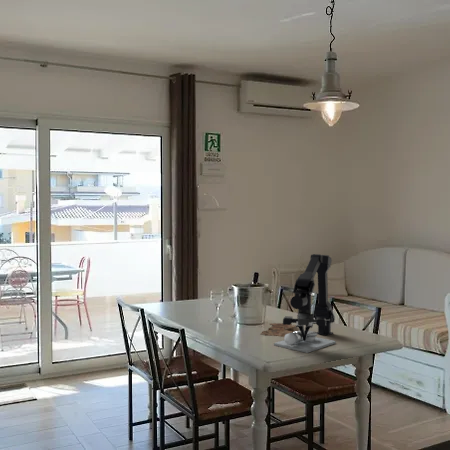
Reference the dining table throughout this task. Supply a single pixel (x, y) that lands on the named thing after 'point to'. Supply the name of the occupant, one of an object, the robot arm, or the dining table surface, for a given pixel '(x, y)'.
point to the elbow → (299, 335)
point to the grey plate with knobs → (303, 343)
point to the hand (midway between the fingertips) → (304, 340)
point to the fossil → (280, 329)
